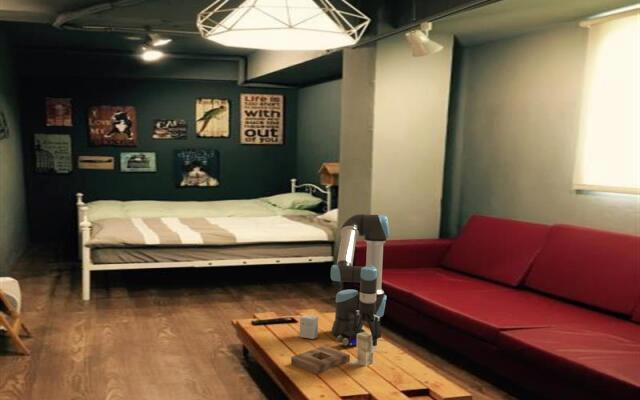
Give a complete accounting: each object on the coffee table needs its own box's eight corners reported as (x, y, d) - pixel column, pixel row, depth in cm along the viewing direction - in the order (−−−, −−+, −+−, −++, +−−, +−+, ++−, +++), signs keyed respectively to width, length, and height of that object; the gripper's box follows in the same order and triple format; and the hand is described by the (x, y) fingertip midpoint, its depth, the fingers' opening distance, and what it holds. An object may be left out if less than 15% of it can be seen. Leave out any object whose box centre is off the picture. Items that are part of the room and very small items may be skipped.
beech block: (364, 360, 269) (365, 331, 268) (372, 363, 266) (373, 334, 264) (357, 363, 266) (358, 333, 264) (365, 366, 262) (366, 336, 261)
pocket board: (324, 353, 278) (324, 345, 278) (349, 363, 267) (349, 354, 267) (291, 365, 262) (291, 356, 262) (316, 376, 251) (316, 367, 251)
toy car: (344, 352, 283) (368, 344, 292) (343, 338, 282) (367, 329, 290) (336, 348, 289) (359, 340, 297) (335, 334, 288) (359, 326, 296)
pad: (363, 358, 273) (363, 357, 273) (380, 365, 266) (380, 363, 266) (349, 364, 266) (349, 363, 266) (366, 370, 259) (366, 369, 259)
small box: (317, 336, 302) (318, 316, 301) (313, 339, 297) (314, 319, 296) (303, 333, 305) (304, 314, 304) (299, 337, 300) (300, 317, 299)
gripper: (345, 297, 267) (343, 345, 270) (380, 307, 253) (378, 358, 255) (355, 294, 272) (354, 341, 275) (390, 304, 258) (388, 353, 261)
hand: (365, 349), depth 265 cm, fingers open, 8 cm apart
